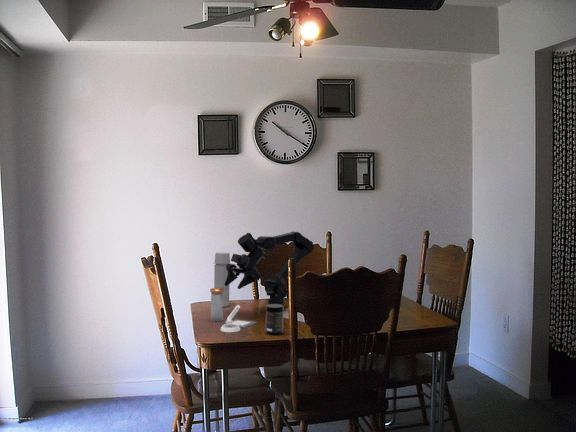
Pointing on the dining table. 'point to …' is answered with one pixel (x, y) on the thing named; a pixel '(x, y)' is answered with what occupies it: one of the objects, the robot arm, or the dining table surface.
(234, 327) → the hook
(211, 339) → the dining table surface
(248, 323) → the pad
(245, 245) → the robot arm
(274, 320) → the supplement container
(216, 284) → the water bottle
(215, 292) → the clear copper-topped jar
